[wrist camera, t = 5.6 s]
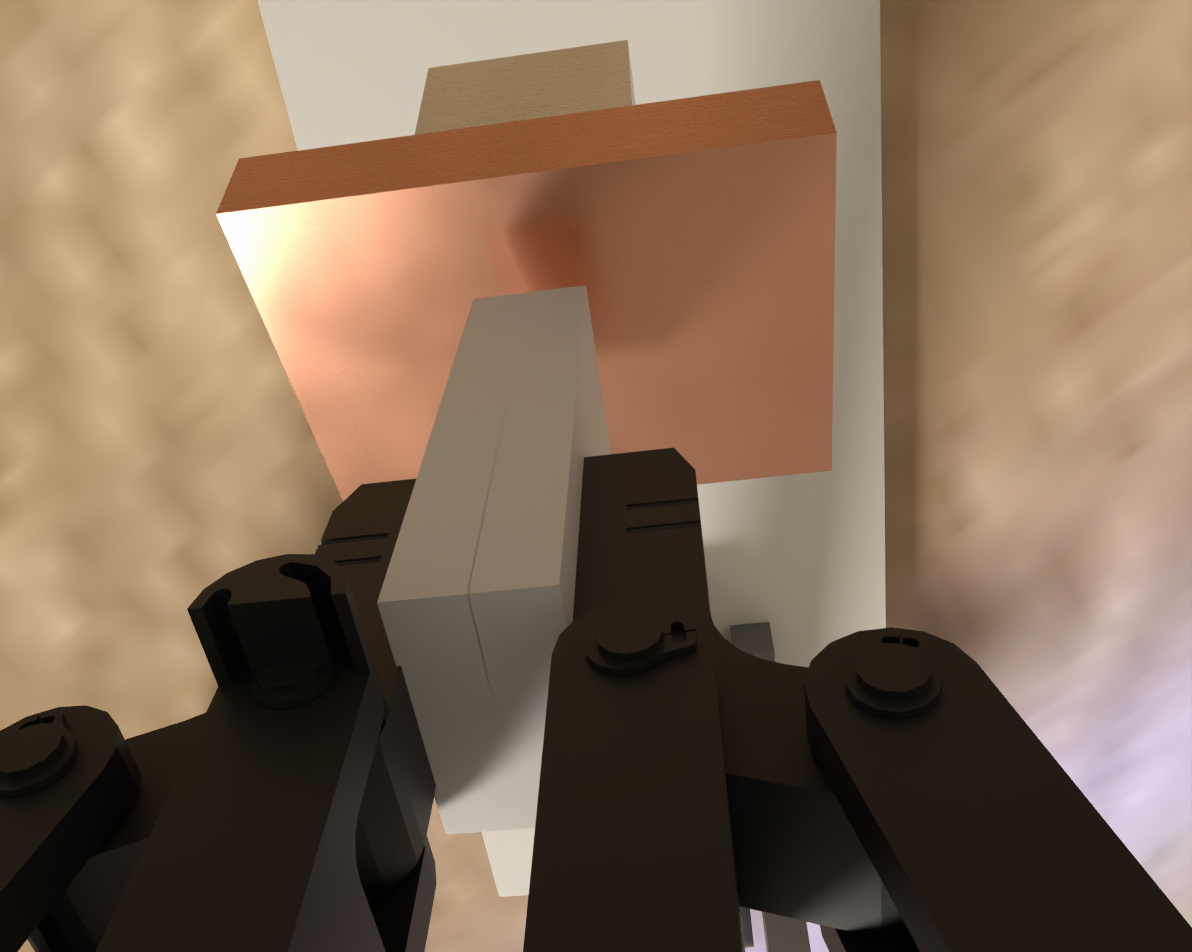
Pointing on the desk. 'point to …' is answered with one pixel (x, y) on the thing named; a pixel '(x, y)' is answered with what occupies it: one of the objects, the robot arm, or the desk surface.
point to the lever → (560, 261)
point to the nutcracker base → (853, 93)
